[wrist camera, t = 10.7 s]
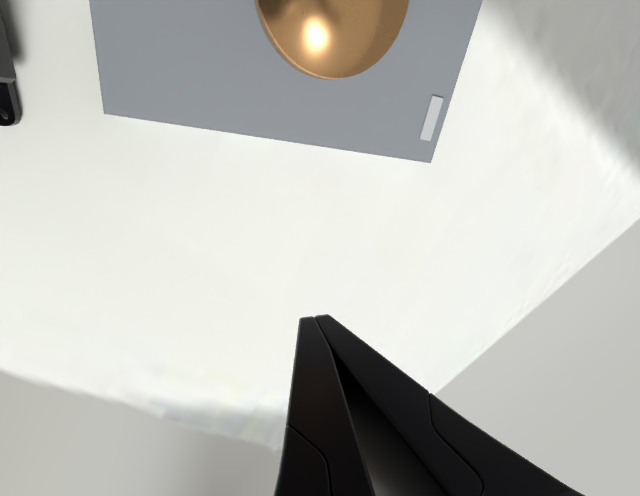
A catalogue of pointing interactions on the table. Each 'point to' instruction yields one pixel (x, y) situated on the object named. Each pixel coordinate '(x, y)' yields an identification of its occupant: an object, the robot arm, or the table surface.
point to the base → (278, 75)
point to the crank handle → (331, 33)
